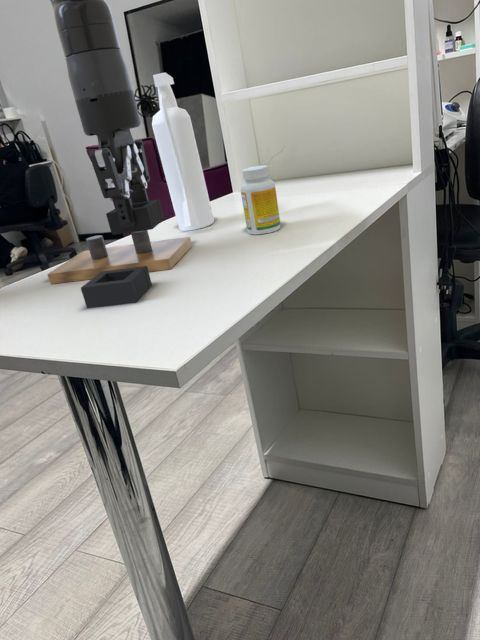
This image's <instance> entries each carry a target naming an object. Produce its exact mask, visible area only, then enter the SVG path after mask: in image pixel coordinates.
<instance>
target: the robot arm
mask: <svg viewBox="0 0 480 640" xmlns="http://www.w3.org/2000/svg"><path fill="white" fill-rule="evenodd" d="M49 2H50V5H51V6H52V9H53V15H54V20H55V26H56V30H57V33H58V38H59V41H60V44H61V49H62V52H63V55H64V57H65V62H66V69H67V76H68V80H69V85H70V87H71V91H72V94H73V98H74V102H75V105H76V109H77V112H78V116H79V120H80V123H81V127H82V130H83V133H84V135H86V136H87V137H93V136H95V137H96V138H97V144H98V149H97V150H96V149H95V150H92V151H89V154H88V155H89V159H90V162H91V165H92V167H93V171H94V173H95V176H96V179H97V182H98V185H99V188H100V192H101V194H102V197H103V198H104V199H105V200H106V199H109V200H110V201H112V202H113V203H114V209H115V208H116V212H117V215H118V219H119V223H120V226H121V227H122V228H127V227H133V226H135V225H136V224H137V221H136V217H135V213H134V209H133V205H132V203H139V202H145V201H150V199H149V195H148V192H147V189H148V183H150V182H151V176H150V173H149V167H148V163H147V157H146V151H145V146H144V141H143V140H142V139H134V138H133V135H132V132H131V130H132V129H135V128H138V127H140V126H141V118H140V115H139V109H138V106H137V101H136V98H135V93H134V90H133V85H132V80H131V77H130V73H129V69H128V66H127V63H126V61H125V58H124V55H123V52H122V49H121V44H120V40H119V36H118V32H117V28H116V24H115V20H114V16H113V12H112V9H111V8H110V5H109V4H108V2H107V1H106V0H49Z"/></svg>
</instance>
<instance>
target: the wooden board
mask: <svg viewBox="0 0 480 640" xmlns="http://www.w3.org/2000/svg"><path fill="white" fill-rule="evenodd" d="M130 235H131V239H132V243H131V244H125V245H118V246H109V247H106V243H105V240H104V236H103V235H94V236H90V237H87V238H85V241H86V244H87V247H88V249H87V250H83V251H80V252H79V253H78V254H76V255H75V256H73V257H71V258H70V259H68V260H67V261H65V262H64V263H63V264H61V265H60V266H58V267H56V268H55V269H53V270H52V271H50V272H48V273H47V277H48V280H49V284H50V285H54V284H55V285H56V284H63V283H70V282H80V281H86V280H91V279H93V278H94V277H95V276H96V275H98V274H99V273H100V272H102V271H110V270H118V269H126V268H133V267H141V266H147V268H148V271H149V273H150V272H160V271H166V270H167V271H169V270H172V269H173V268H174V267H175V265H176V264H177V263H178V262H179V261H180V260H181V259H182V258H183V257H184V255H185V254H186V253H187V252H188V251H189V250H190V249H191V248H192V247H193V243H192V240H191V236H185V237H176V238H170V239H162V240H153V241H151V239H150V235H149V230H144V231H137V232H130Z"/></svg>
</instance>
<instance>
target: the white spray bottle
mask: <svg viewBox="0 0 480 640" xmlns="http://www.w3.org/2000/svg"><path fill="white" fill-rule="evenodd" d="M152 77H153V83H154V88H157V94H158V95H157V97H158V105H159V110H158V111H157V112H156V113H155V114H154V115H153V116H152V119H151V120H152V121H151V127H152V131H153V135H154V139H155V141H156V142H155V143H156V147H157V151H158V154H159V157H160V158H159V159H160V162H161V165H162V169H163V173H164V176H165V177H164V178H165V181H166V184H167V188H168V192H169V196H170V199H171V203H172V207H173V211H174V216H175V219H176V222H177V223H176V224H177V226H178V230H179V231H183V232H186V231H195V230H199V229H203V228H206V227H209V226H210V225H213V224H214V222H215V218H214V214H213V210H212V206H211V202H210V197H209V193H208V187H207V184H206V179H205V174H204V171H203V166H202V162H201V158H200V153H199V148H198V145H197V141H196V136H195V131H194V128H193V123H192V119H191V116H190V114H189V113H188V111H187V110H186V109H185V108H182V107H179V106H178V102H177V99H176V97H175V94H174V91H173V88H172V86H171V85H175V82H174V78H173V77H172V76H171V75H170V74H168V73H167V72H161V73H156V74H153V75H152Z"/></svg>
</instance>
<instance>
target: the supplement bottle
mask: <svg viewBox="0 0 480 640" xmlns="http://www.w3.org/2000/svg"><path fill="white" fill-rule="evenodd" d="M241 173H242V179H243V180H244V183H243V184H241V186H240V196H241V202H242V207H243V213H244V220H245V226H246V230H247V233H248V234H250V235H255V236H256V235H264V234H270V233H275V232H277V231H278V230H280V228H281V219H280V218H281V217H280V211H279V203H278V197H277V196H278V195H277V190H276V184H275V181H274V180H273V179H271V178H268V177H269V175H270V171H269V166H268V165H255V166H250V167H246V168H243V169H242V170H241Z"/></svg>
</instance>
